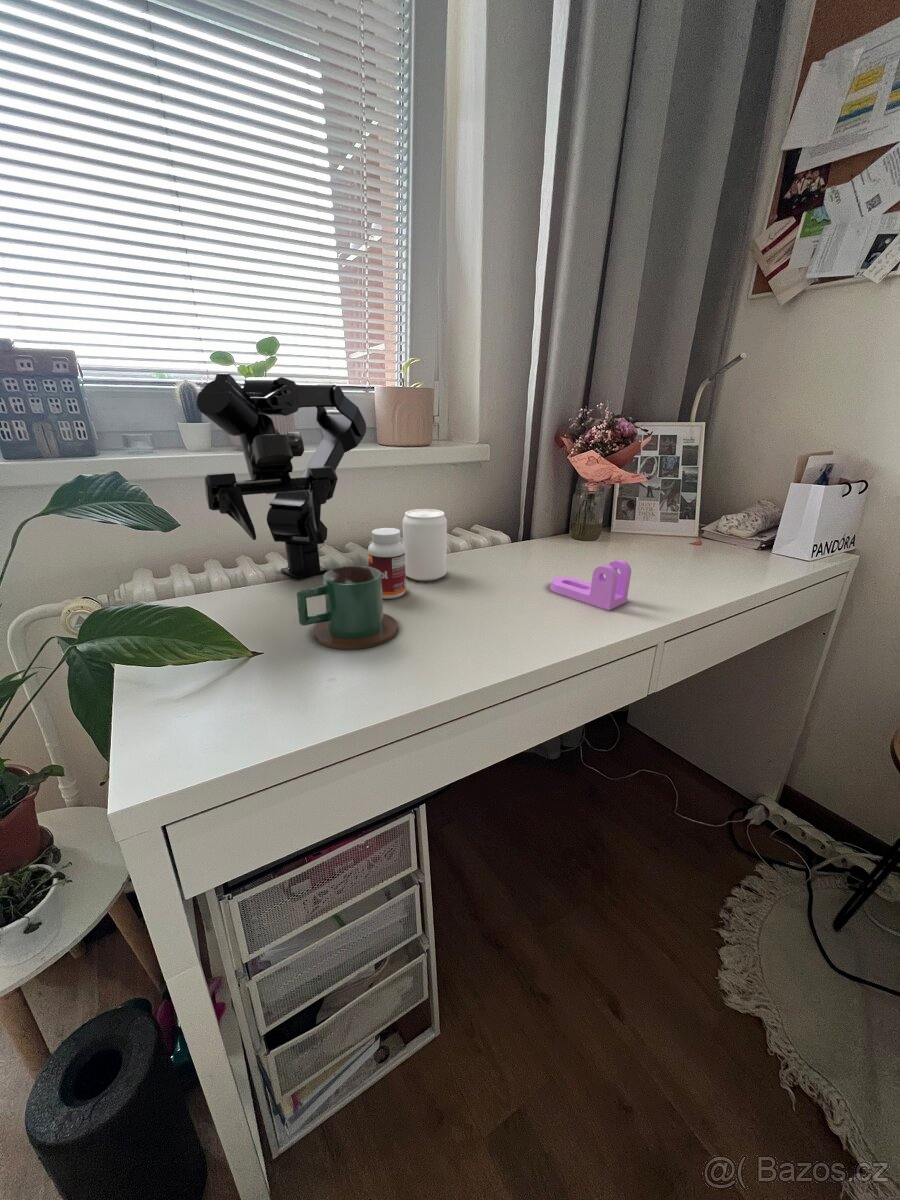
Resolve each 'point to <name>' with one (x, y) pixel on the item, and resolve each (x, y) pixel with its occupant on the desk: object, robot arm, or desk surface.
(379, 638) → the coaster
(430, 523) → the beverage can
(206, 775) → the desk surface
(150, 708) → the desk surface
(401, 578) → the pill bottle
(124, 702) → the desk surface
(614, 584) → the bracket
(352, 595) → the mug
